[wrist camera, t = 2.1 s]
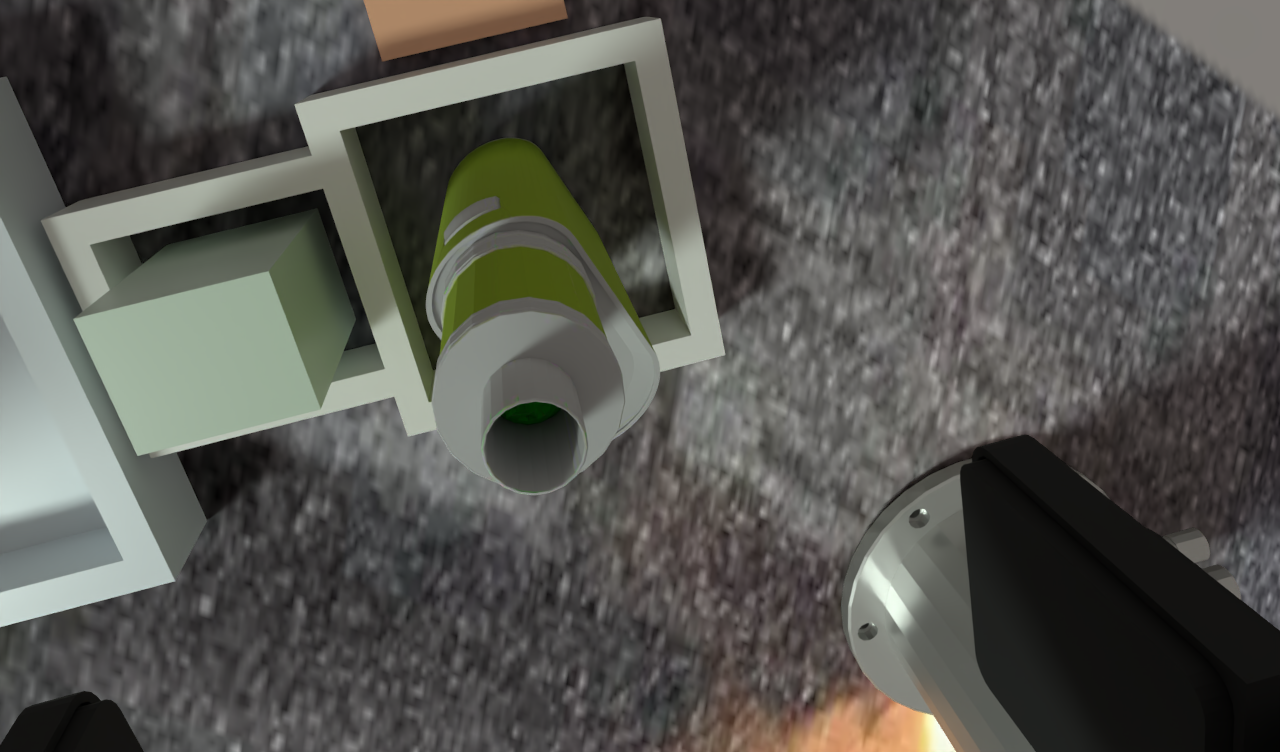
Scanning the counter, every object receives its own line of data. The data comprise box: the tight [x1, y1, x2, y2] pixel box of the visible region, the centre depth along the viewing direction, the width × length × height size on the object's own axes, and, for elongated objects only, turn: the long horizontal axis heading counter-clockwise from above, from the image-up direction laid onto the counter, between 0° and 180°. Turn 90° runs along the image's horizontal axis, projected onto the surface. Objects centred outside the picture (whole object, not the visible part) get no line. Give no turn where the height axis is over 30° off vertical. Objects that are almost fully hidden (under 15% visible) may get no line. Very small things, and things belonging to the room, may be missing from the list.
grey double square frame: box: [41, 0, 725, 458], centre depth 31 cm, size 19×14×3 cm
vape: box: [426, 137, 660, 495], centre depth 24 cm, size 4×6×20 cm, turn 33°
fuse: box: [73, 208, 356, 456], centre depth 29 cm, size 5×4×8 cm
